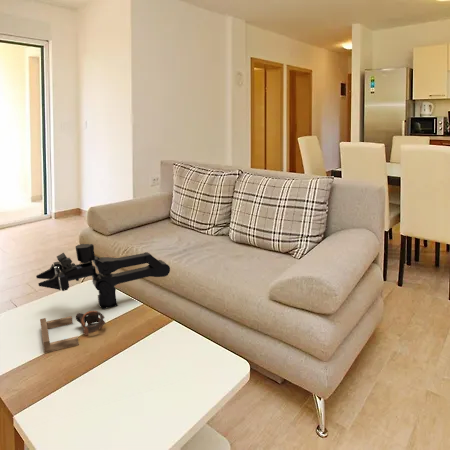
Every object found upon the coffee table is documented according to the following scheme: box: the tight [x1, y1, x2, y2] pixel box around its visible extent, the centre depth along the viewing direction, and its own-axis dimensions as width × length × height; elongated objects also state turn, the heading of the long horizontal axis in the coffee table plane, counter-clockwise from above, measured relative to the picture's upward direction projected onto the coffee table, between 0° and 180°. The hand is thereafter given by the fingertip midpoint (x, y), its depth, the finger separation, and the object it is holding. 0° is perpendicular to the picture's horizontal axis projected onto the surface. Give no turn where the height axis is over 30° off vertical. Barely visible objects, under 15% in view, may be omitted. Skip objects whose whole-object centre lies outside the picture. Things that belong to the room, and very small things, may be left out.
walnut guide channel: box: [39, 315, 80, 354], centre depth 152 cm, size 11×19×4 cm, turn 26°
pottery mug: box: [75, 310, 106, 336], centre depth 156 cm, size 12×9×8 cm
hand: (37, 280), depth 161 cm, fingers open, 9 cm apart
